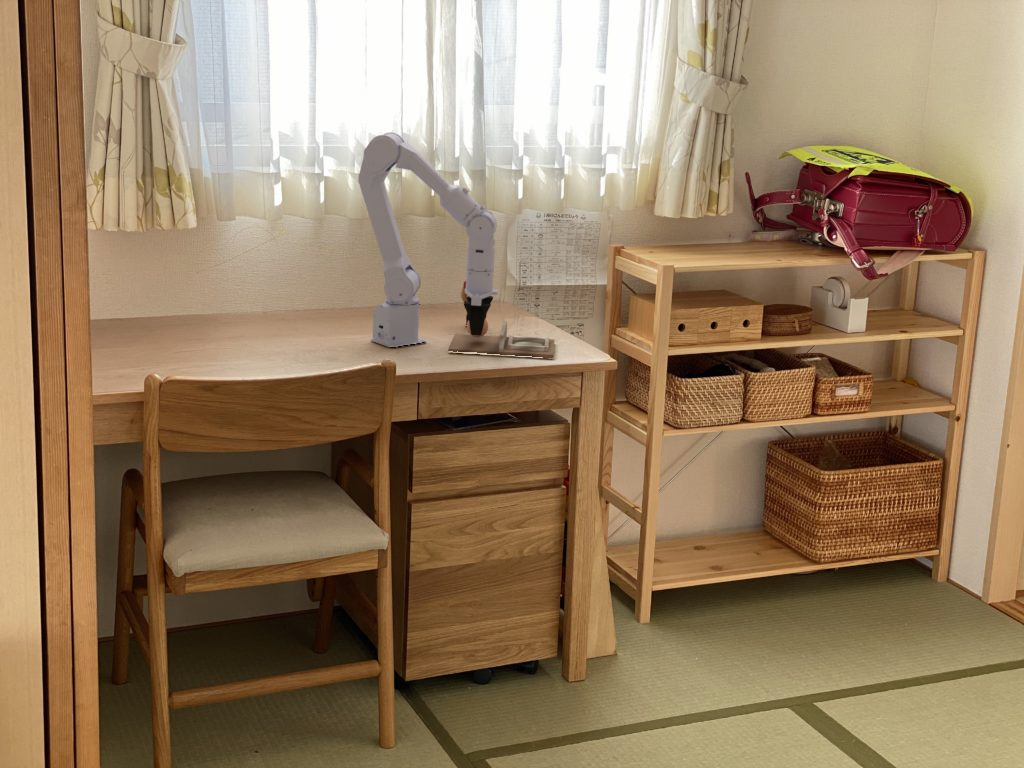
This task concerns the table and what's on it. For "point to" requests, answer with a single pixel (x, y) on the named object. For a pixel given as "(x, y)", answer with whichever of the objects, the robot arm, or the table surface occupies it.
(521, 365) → the table surface
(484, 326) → the ball
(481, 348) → the board
